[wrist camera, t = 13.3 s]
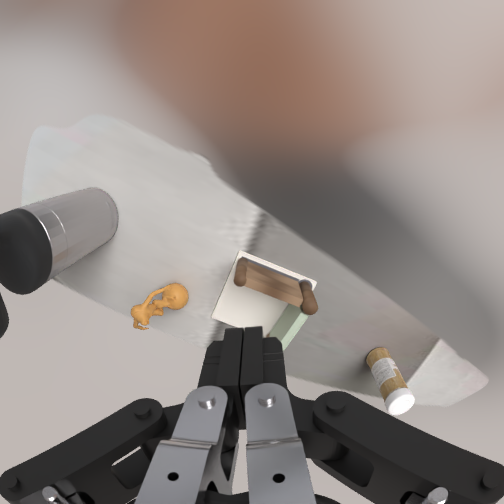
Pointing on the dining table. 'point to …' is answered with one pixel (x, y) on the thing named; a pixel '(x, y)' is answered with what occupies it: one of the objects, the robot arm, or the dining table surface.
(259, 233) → the dining table surface
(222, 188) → the dining table surface
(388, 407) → the sprinkles bottle
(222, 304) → the card
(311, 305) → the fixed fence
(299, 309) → the swing panel
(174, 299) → the figurine
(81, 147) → the dining table surface
